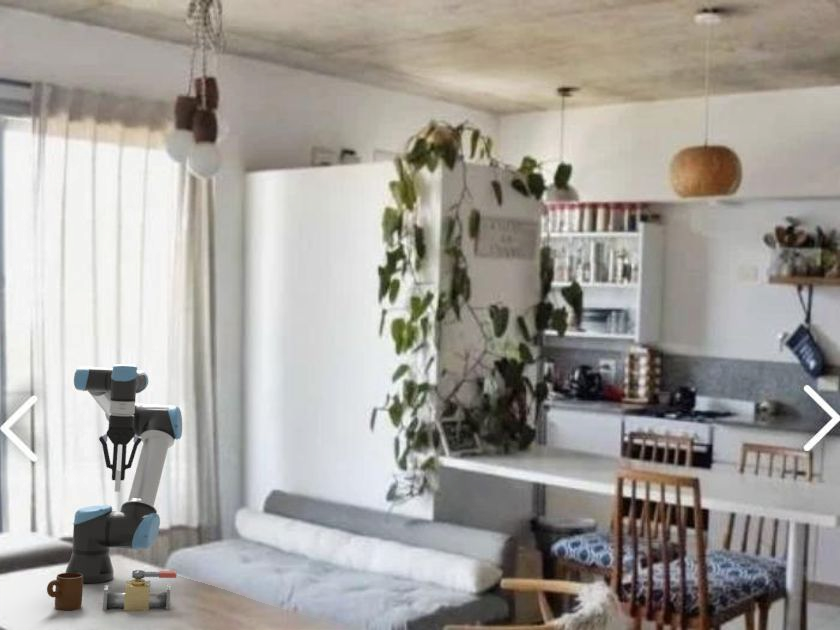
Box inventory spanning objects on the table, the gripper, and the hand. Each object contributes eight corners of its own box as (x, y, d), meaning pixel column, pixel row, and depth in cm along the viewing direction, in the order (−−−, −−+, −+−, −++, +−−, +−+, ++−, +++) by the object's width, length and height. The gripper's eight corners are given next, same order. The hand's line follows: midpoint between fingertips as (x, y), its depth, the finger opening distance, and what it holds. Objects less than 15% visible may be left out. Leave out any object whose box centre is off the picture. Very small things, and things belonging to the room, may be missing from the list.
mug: (55, 615, 297) (57, 582, 297) (36, 611, 301) (38, 578, 301) (87, 606, 308) (89, 575, 308) (68, 602, 312) (70, 570, 312)
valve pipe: (104, 602, 313) (106, 573, 313) (170, 602, 318) (172, 573, 318) (102, 610, 305) (104, 581, 305) (171, 610, 309) (172, 581, 309)
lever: (176, 575, 315) (176, 570, 315) (176, 578, 311) (176, 573, 311) (132, 575, 312) (132, 570, 312) (131, 578, 308) (132, 573, 308)
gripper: (99, 415, 316) (94, 492, 316) (143, 416, 319) (138, 493, 319) (100, 412, 324) (96, 488, 324) (144, 414, 327) (139, 489, 327)
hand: (117, 490), depth 321 cm, fingers closed
